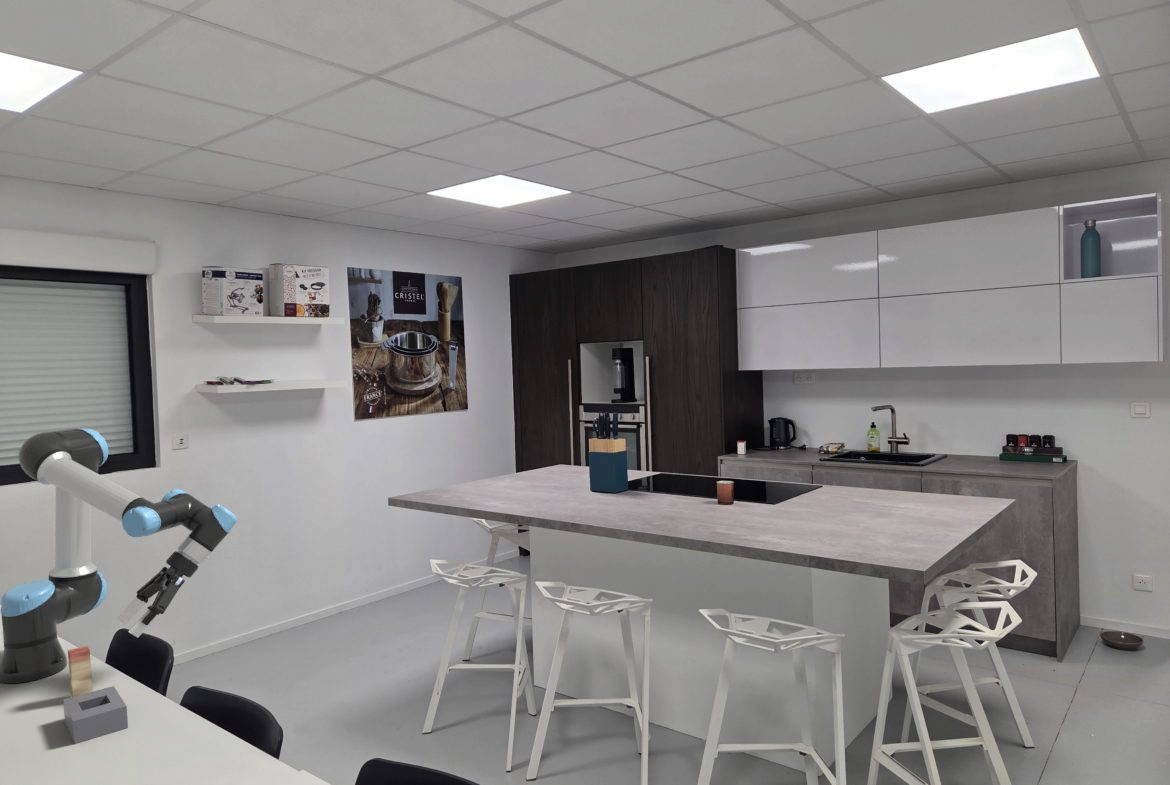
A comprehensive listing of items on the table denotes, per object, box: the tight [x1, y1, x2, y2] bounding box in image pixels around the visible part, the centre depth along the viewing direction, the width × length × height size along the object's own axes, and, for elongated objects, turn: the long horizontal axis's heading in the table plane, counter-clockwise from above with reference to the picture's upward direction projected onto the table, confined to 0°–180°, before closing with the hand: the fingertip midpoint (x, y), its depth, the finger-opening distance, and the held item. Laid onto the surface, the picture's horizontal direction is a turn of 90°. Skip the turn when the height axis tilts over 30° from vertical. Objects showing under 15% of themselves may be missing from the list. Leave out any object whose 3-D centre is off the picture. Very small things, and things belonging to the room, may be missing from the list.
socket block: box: [63, 685, 129, 745], centre depth 172 cm, size 15×10×5 cm, turn 41°
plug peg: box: [67, 645, 94, 698], centre depth 186 cm, size 4×4×12 cm
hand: (127, 628), depth 192 cm, fingers open, 13 cm apart
